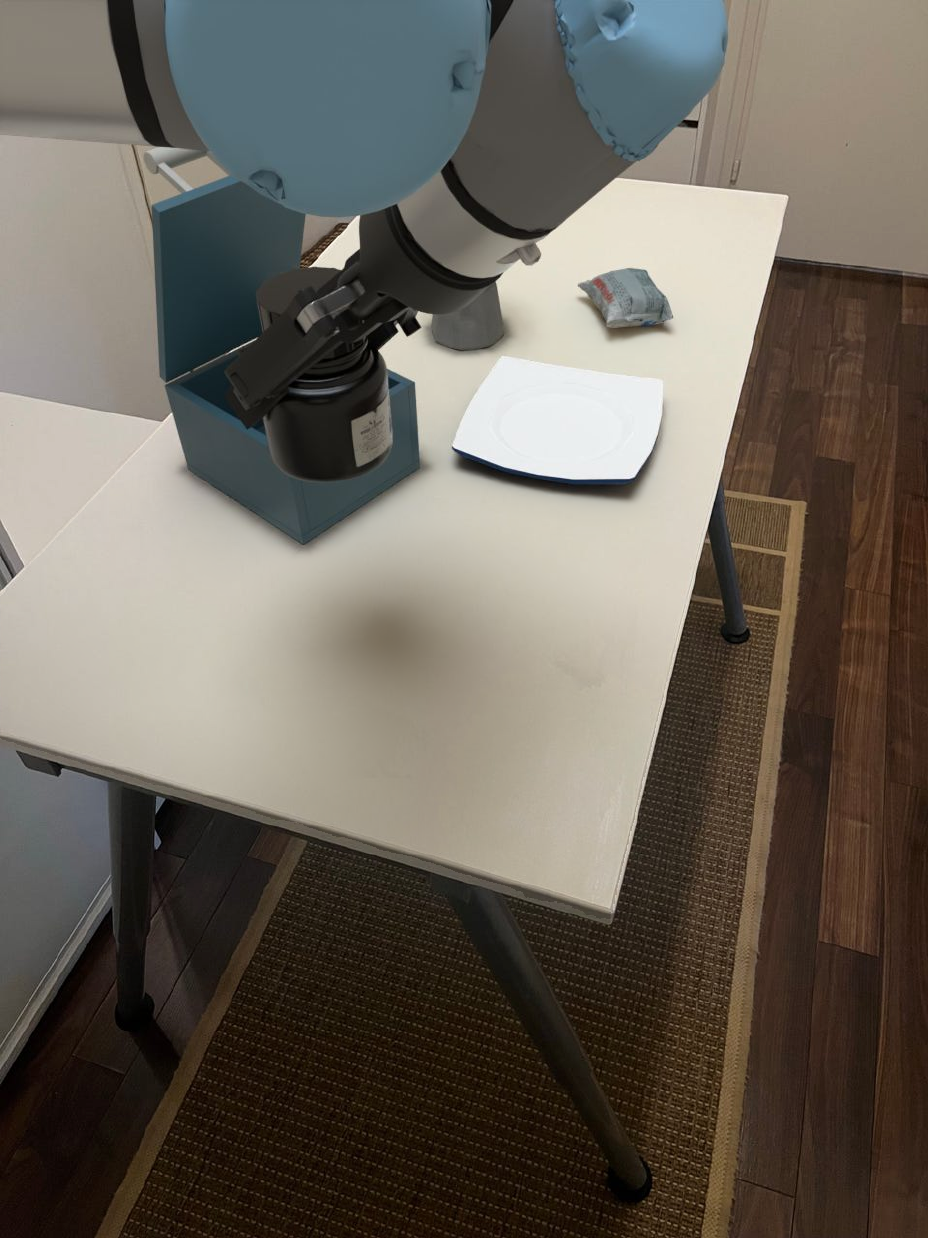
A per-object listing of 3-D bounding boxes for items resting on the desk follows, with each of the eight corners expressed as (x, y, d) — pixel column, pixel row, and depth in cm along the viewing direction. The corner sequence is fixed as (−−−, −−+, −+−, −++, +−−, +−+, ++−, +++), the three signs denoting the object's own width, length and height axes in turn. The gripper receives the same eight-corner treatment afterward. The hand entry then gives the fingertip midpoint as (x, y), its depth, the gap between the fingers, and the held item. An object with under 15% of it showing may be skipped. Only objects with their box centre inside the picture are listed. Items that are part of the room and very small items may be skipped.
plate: (670, 397, 104) (674, 376, 102) (638, 508, 90) (641, 486, 88) (495, 370, 108) (496, 350, 106) (439, 472, 95) (439, 451, 93)
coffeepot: (529, 343, 112) (535, 191, 99) (463, 366, 109) (461, 212, 96) (461, 293, 121) (459, 148, 108) (399, 313, 118) (388, 165, 105)
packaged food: (604, 343, 112) (609, 304, 108) (575, 297, 120) (579, 260, 117) (672, 335, 113) (679, 297, 110) (639, 291, 121) (644, 254, 118)
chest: (420, 467, 95) (415, 381, 88) (303, 545, 87) (287, 458, 80) (304, 404, 104) (291, 321, 97) (188, 469, 96) (164, 384, 89)
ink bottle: (399, 484, 64) (386, 323, 55) (269, 496, 63) (236, 335, 54) (388, 406, 70) (375, 251, 62) (271, 416, 70) (241, 261, 61)
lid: (313, 153, 80) (246, 95, 82) (159, 212, 72) (88, 146, 74) (293, 319, 96) (238, 268, 98) (166, 383, 88) (107, 325, 90)
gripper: (337, 365, 41) (199, 499, 60) (621, 212, 52) (429, 366, 71) (240, 213, 40) (131, 399, 59) (552, 89, 51) (375, 279, 70)
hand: (294, 381), depth 65 cm, fingers closed on ink bottle, 9 cm apart
